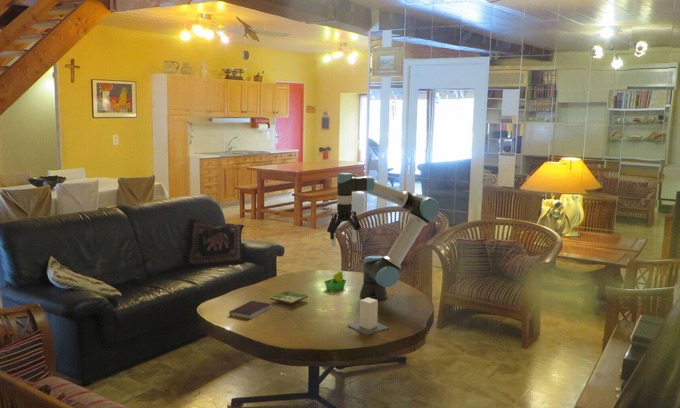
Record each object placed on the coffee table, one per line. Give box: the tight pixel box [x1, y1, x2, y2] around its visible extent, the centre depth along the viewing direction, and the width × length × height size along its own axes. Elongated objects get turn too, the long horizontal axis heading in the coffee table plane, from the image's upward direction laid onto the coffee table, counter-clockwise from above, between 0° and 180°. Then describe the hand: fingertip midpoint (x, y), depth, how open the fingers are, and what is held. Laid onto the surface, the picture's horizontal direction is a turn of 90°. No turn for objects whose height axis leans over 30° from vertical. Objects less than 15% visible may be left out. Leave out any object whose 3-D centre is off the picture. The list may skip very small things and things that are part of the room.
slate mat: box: [347, 321, 390, 336], centre depth 283 cm, size 14×14×1 cm
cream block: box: [359, 298, 379, 329], centre depth 282 cm, size 6×6×13 cm
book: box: [228, 300, 271, 320], centre depth 303 cm, size 12×19×3 cm, turn 154°
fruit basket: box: [324, 270, 347, 292], centre depth 342 cm, size 11×9×11 cm
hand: (343, 243), depth 305 cm, fingers open, 13 cm apart
